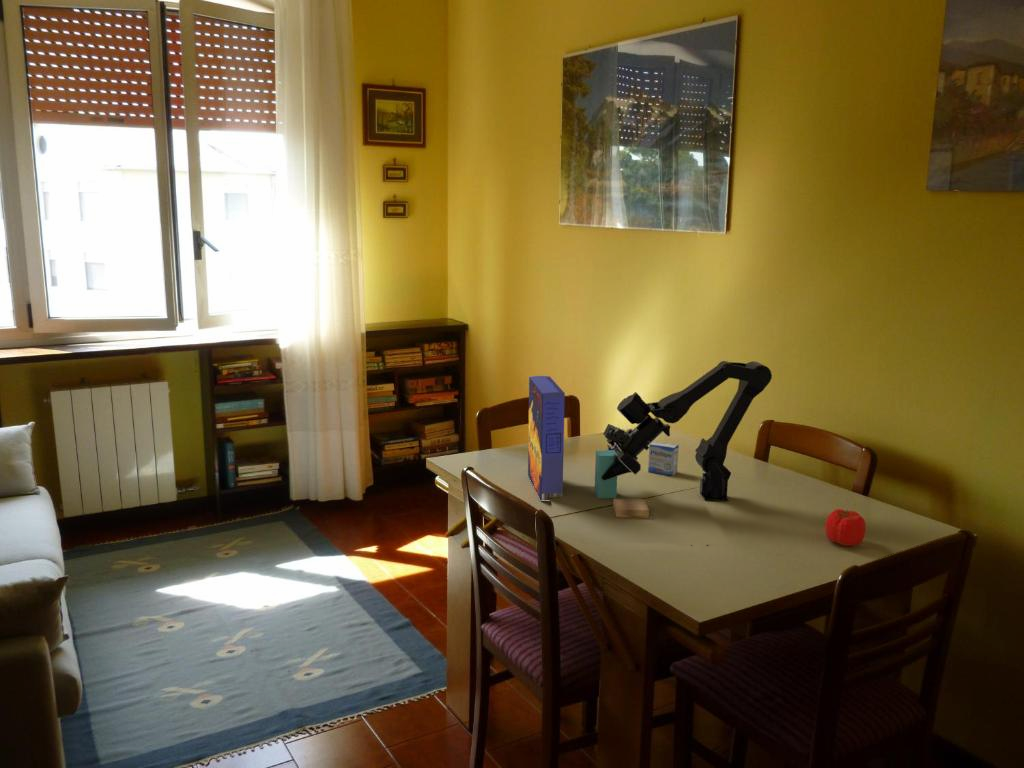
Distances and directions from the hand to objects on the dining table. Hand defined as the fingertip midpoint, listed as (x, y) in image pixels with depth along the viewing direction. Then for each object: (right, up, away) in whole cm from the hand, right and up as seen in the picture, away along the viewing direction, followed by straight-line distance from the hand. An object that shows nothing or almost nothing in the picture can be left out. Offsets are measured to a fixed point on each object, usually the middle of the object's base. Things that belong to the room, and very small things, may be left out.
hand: (600, 475), depth 228 cm
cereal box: (-15, -5, +10) cm, 18 cm away
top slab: (+6, -8, -11) cm, 15 cm away
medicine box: (+21, -2, +25) cm, 33 cm away
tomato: (+55, -13, -27) cm, 62 cm away
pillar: (+1, -7, +1) cm, 7 cm away
